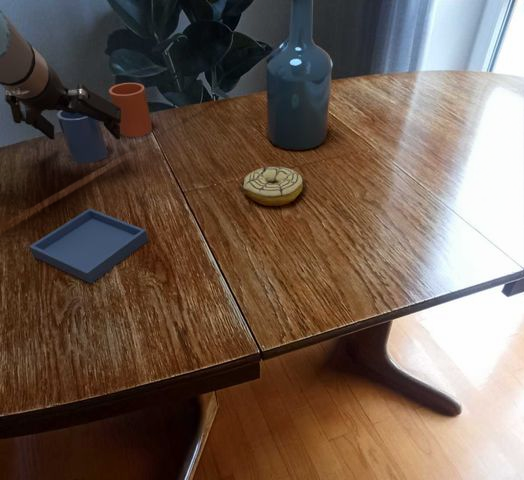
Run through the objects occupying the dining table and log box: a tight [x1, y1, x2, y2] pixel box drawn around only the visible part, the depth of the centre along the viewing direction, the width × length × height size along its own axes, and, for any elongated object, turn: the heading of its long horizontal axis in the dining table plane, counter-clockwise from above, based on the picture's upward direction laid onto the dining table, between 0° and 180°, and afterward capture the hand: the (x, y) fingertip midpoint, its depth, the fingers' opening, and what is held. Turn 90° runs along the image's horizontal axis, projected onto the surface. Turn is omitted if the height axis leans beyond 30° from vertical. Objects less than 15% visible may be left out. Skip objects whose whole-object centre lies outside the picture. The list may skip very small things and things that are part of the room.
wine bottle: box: [265, 0, 334, 151], centre depth 92 cm, size 14×13×30 cm
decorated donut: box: [242, 166, 303, 207], centre depth 86 cm, size 10×11×4 cm
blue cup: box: [56, 105, 109, 169], centre depth 94 cm, size 7×7×10 cm
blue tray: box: [28, 207, 149, 285], centre depth 76 cm, size 13×13×2 cm
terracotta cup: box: [108, 82, 153, 143], centre depth 102 cm, size 7×7×10 cm
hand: (85, 132), depth 94 cm, fingers open, 13 cm apart
